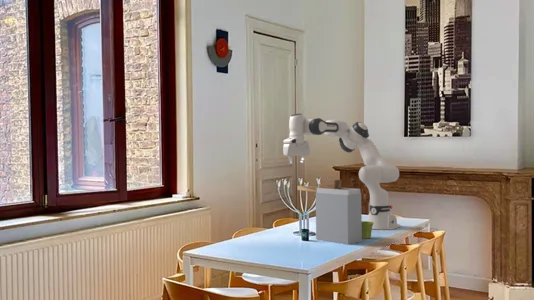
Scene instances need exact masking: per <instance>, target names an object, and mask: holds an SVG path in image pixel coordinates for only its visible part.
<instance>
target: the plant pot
mask: <svg viewBox="0 0 534 300" xmlns="http://www.w3.org/2000/svg"><path fill="white" fill-rule="evenodd" d="M373 224H374V223H373V222H369V221H368V220H362V239H363V240H364V239H365V240H367V239H371V238H372V230H373V229H372V226H373Z"/></svg>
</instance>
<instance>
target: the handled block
mask: <svg viewBox="0 0 534 300" xmlns="http://www.w3.org/2000/svg"><path fill="white" fill-rule="evenodd" d="M296 187H297V191H304V192H305V191H306V192H315V193H316V192H317V188H325V189H340V190H341V188H342V179H335V178H333V179H332V178H331V179H330V178H325V179H324V178H322V179H320V181H319V186H311V185H310V186H307V185H297V186H296Z"/></svg>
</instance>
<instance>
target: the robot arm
mask: <svg viewBox="0 0 534 300" xmlns="http://www.w3.org/2000/svg"><path fill="white" fill-rule="evenodd" d="M288 123H289V124H288V125H289V126H288V127H289V128H288V129H289V137H288V138H285V139H284V140H283V148H282V151H283V152H282V154H283V156H284V157H288V158H287V159H288V160H289V164H290V165H291V164H292V165H293V164H294V160H293V157H295V156H296V157H299V156H301V160H299V161H300V164H304V163H305V159H306V157H307V156H310V154H311V153H310V152H311V151H310V150H311V149H310V144H309V141H308V140H305V136H311V135H313V136H314V135H315V136H321V135H323V134H324V135H325V136H327V137H333V138H335V137H336V138H338V142H339V146H340V148H341V149H342V150H343V152H346V153H352V152H353V151H355V150H356V149H357V147H358V149H359V154H360V156H361V159H362V160H363V163H364V166H361V167H360V169H359V171H358V178H359V180H360V182H362V183H363V184H364V185H365V186H366V187H367V190H368V192H369V201H370V202H369V207H368V208H369V213H368V217H367V221H369V222H373V223H374V224H373V226H372V230H394V229H398V228H400V227H402V224H398V220H397V216H396V215H395V214H394V213H393V212H391V209H393V205H392V204H391V205H389V193H388V191H387V190H386V189H384V188H382V187H381V185H380V184H384V183H386V184H389V183H393V182H397V180H398V179H400V178H399V177H400V169H399V168H398V167H397V166H396V165H393V164H391V163H389V162H387V160H385V159H384V158H383V156H381V154H380V152H379V151H378V148H377V146H376V145H375V143H374V142H373V141H372V140H371V139H370V138H369V136H370V134H369V130H368V126H367V125H366V124H365V123H363V122H361V121H357V122H356V121H355V123H354V124H352V126H351V127H349V124H348V123H347V122H345V121H344V120H341V119H340V120H339V119H328V120H326V121H325V120H324V119H322V118H320V117H318V118H310V119H309V118H306V117H305V116H304V115H303V113H293V114H291V115H290V116H289V122H288Z"/></svg>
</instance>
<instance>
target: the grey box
mask: <svg viewBox="0 0 534 300" xmlns="http://www.w3.org/2000/svg"><path fill="white" fill-rule="evenodd" d="M362 219H363V218H362V193H361V188H351V187H341V190H340V189H325V188H317V192H316V191H315V238H316V239H317V241H323V240H324V241H323V242H328V243H336V244H341V243H342V245H352V244H351V243H353V244H357V243H360V242H362V241H363V240H362V221H363V220H362ZM316 239H315V240H316ZM356 242H357V243H356Z"/></svg>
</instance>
